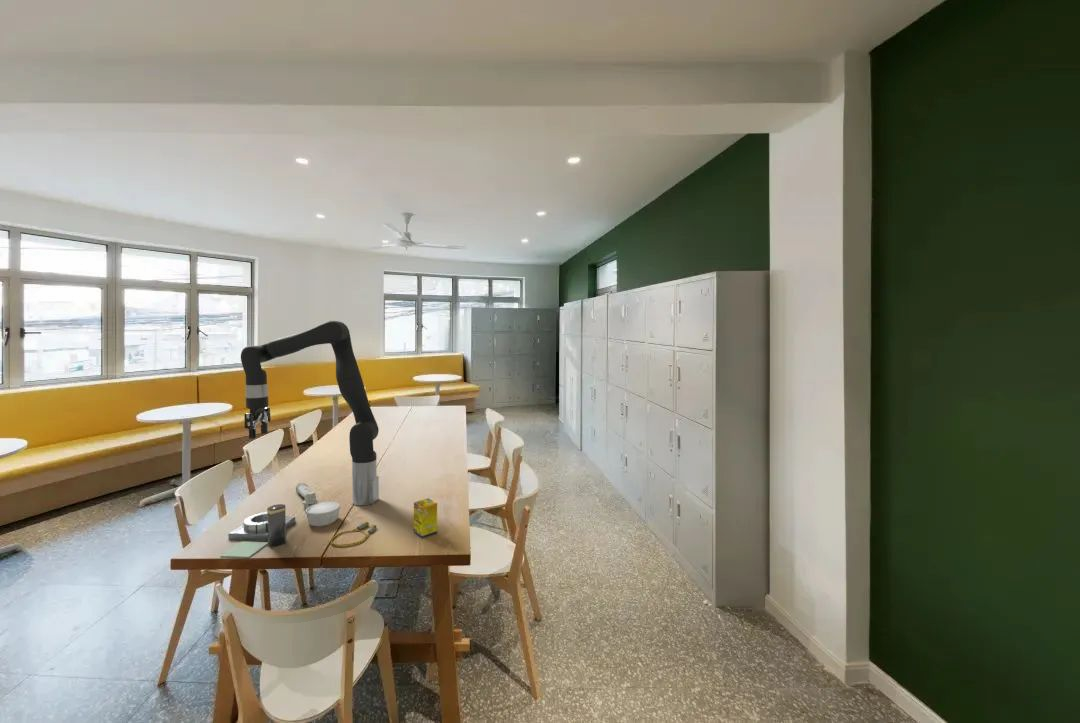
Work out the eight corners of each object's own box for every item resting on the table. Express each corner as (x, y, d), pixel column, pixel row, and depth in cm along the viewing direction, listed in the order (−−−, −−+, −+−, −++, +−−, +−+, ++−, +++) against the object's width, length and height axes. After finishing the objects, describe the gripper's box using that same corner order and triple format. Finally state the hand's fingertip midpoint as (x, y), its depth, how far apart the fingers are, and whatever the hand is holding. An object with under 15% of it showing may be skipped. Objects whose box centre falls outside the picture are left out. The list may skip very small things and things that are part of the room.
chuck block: (295, 522, 155) (295, 510, 155) (269, 540, 141) (269, 527, 141) (257, 520, 155) (257, 509, 155) (228, 539, 142) (228, 526, 141)
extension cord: (385, 536, 146) (385, 530, 146) (337, 552, 135) (337, 546, 135) (370, 524, 155) (369, 519, 155) (323, 539, 143) (323, 533, 143)
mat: (268, 543, 139) (268, 542, 139) (249, 557, 130) (249, 556, 130) (241, 542, 139) (241, 541, 139) (220, 556, 130) (220, 555, 130)
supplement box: (413, 532, 148) (413, 502, 147) (428, 527, 152) (428, 497, 152) (421, 538, 144) (421, 507, 143) (437, 533, 148) (437, 502, 147)
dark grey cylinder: (289, 539, 142) (288, 504, 141) (279, 547, 137) (279, 510, 136) (274, 539, 142) (273, 504, 141) (264, 546, 137) (263, 510, 136)
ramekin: (303, 519, 157) (303, 505, 157) (336, 512, 164) (336, 499, 164) (308, 531, 148) (308, 516, 148) (343, 522, 155) (343, 508, 155)
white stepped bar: (307, 481, 187) (318, 490, 167) (307, 496, 187) (319, 507, 167) (293, 483, 184) (303, 493, 164) (294, 499, 183) (304, 510, 164)
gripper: (257, 398, 163) (258, 440, 164) (276, 393, 177) (277, 431, 178) (236, 398, 162) (238, 440, 163) (256, 393, 176) (258, 432, 177)
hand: (258, 436), depth 170 cm, fingers open, 8 cm apart
